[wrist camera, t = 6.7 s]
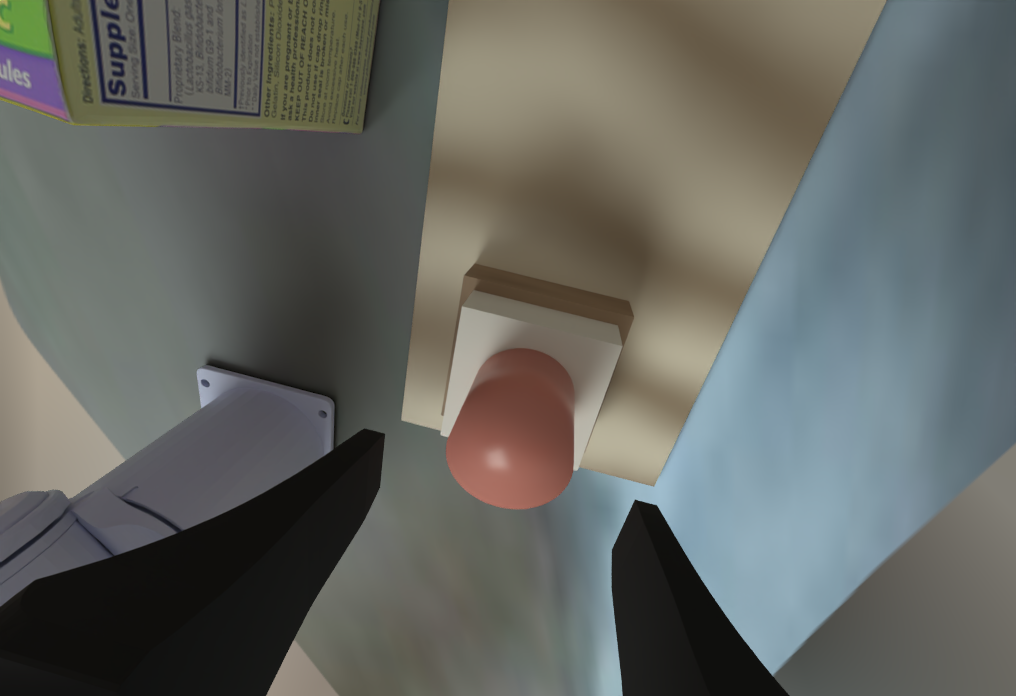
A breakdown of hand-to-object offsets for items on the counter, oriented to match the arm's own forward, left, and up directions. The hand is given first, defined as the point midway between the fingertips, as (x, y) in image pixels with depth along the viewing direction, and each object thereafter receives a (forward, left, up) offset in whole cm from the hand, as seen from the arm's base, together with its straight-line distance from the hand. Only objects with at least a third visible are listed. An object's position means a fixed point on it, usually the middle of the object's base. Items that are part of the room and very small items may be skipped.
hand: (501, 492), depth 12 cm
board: (+6, -1, -10) cm, 12 cm away
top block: (0, 0, -7) cm, 7 cm away
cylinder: (0, 0, -5) cm, 5 cm away
